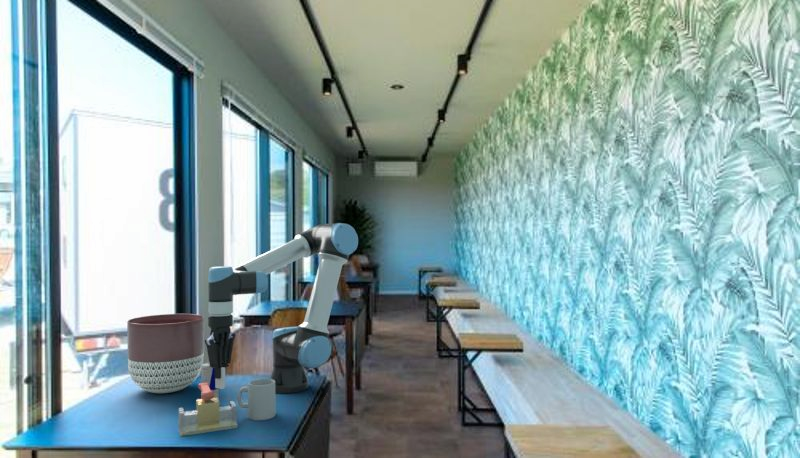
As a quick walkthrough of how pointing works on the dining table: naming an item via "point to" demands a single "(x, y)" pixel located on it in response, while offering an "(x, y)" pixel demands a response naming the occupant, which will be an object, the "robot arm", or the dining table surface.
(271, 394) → the mug
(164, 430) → the dining table surface
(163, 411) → the dining table surface
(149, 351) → the planter
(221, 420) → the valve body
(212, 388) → the beverage can
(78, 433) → the dining table surface
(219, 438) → the dining table surface
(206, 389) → the lever
